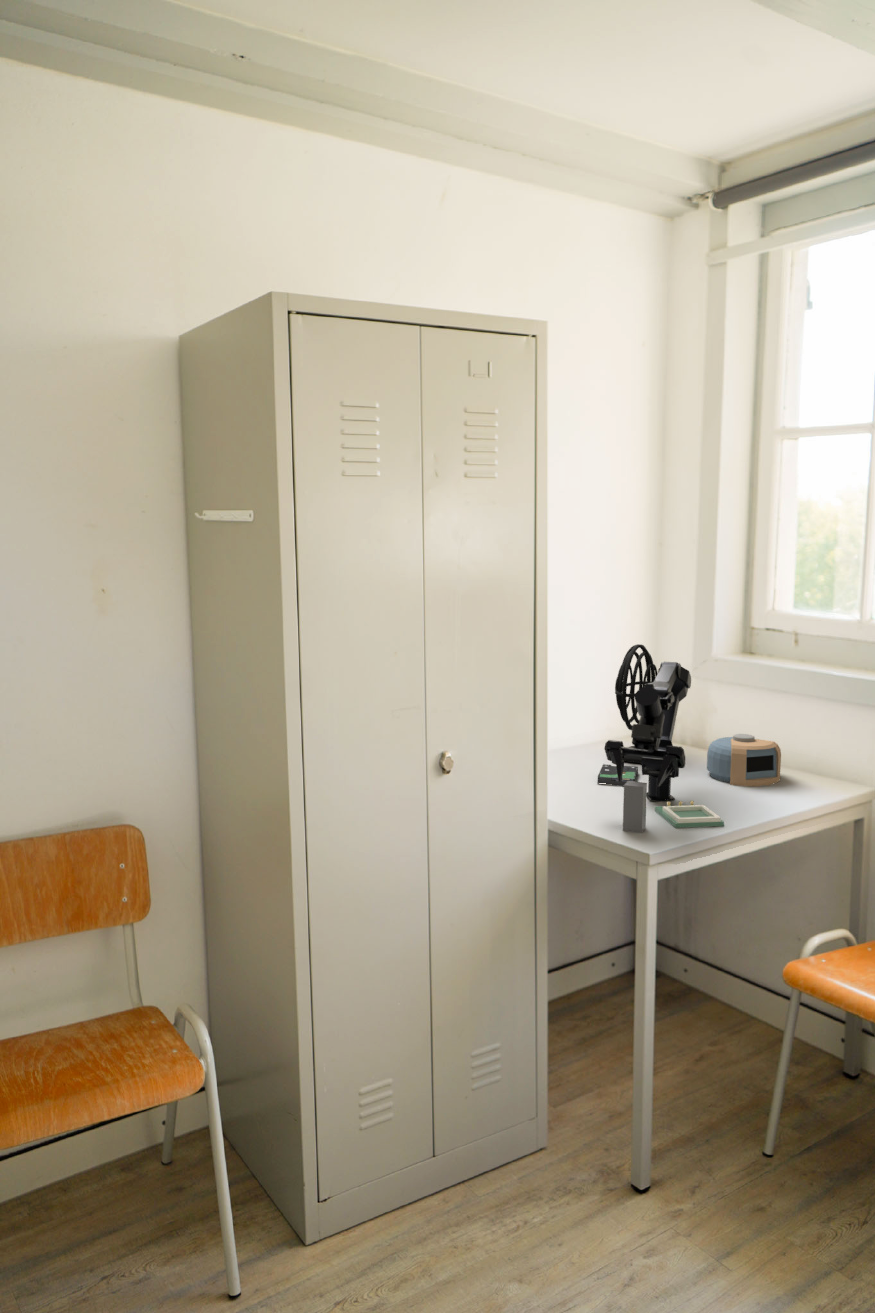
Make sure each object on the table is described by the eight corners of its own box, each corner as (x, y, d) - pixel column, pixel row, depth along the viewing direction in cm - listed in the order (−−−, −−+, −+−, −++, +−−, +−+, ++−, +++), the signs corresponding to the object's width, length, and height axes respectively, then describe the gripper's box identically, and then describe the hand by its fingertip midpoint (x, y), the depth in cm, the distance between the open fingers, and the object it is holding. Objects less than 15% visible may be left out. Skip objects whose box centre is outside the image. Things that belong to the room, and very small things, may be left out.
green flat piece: (654, 810, 239) (655, 800, 239) (700, 808, 241) (701, 799, 240) (675, 827, 226) (675, 817, 225) (723, 825, 227) (724, 815, 227)
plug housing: (626, 825, 227) (627, 780, 226) (645, 828, 225) (646, 782, 224) (622, 830, 223) (624, 784, 222) (641, 833, 222) (643, 787, 220)
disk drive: (602, 773, 278) (597, 785, 264) (602, 764, 278) (597, 776, 264) (638, 775, 276) (635, 788, 261) (638, 766, 275) (635, 778, 261)
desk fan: (629, 745, 311) (632, 639, 307) (683, 751, 303) (687, 642, 298) (603, 763, 288) (605, 648, 283) (660, 770, 279) (664, 651, 275)
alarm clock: (734, 789, 260) (736, 745, 258) (693, 771, 278) (694, 730, 277) (793, 783, 266) (795, 740, 264) (748, 766, 284) (750, 726, 283)
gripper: (607, 707, 232) (594, 761, 224) (685, 713, 225) (674, 769, 216) (614, 733, 241) (602, 786, 232) (689, 740, 233) (679, 795, 224)
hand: (638, 783), depth 226 cm, fingers open, 9 cm apart
